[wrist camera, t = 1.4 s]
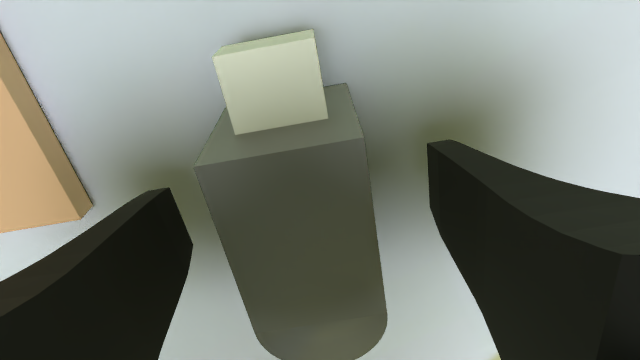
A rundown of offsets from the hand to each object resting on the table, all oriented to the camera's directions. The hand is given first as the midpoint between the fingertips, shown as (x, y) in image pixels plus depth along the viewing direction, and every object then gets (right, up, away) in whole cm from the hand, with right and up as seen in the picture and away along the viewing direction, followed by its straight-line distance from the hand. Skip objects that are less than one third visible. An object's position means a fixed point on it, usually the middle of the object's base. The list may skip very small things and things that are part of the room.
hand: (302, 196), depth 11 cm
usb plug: (0, +1, +2) cm, 2 cm away
